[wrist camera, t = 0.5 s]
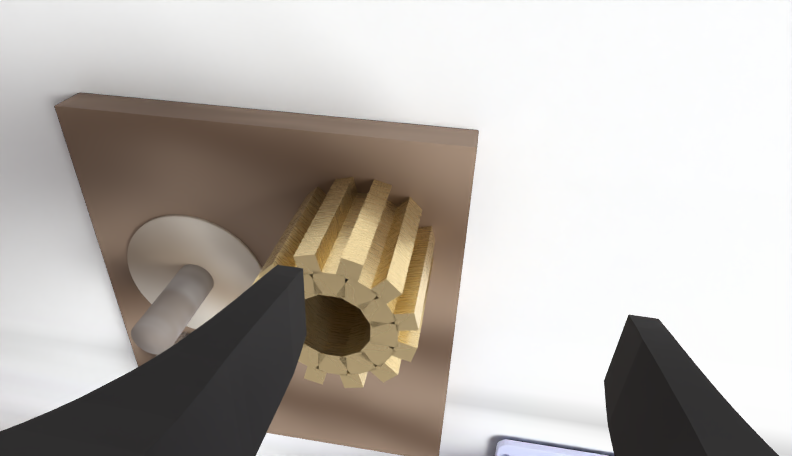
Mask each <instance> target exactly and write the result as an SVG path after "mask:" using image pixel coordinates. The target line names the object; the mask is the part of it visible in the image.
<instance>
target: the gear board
mask: <svg viewBox="0 0 792 456" xmlns="http://www.w3.org/2000/svg"><path fill="white" fill-rule="evenodd" d="M54 107H55V110H56V113H57V116H58V119H59V122H60V125H61V128H62V131H63V134H64V138H65V141H66V144H67V147H68V150H69V153H70V156H71V159H72V162H73V165H74V169H75V172H76V175H77V178H78V181H79V184H80V187H81V190H82V193H83V196H84V200H85V203H86V206H87V209H88V212H89V215H90V218H91V221H92V224H93V227H94V231H95V234H96V237H97V240H98V243H99V246H100V249H101V252H102V255H103V258H104V262H105V265H106V268H107V271H108V274H109V277H110V280H111V283H112V286H113V289H114V293H115V296H116V299H117V302H118V305H119V308H120V311H121V314H122V317H123V320H124V324H125V327H126V330H127V333H128V336H129V339H130V342H131V345H132V348H133V351H134V355H135V358H136V361H137V364H138V367H139V366H141V365H142V364H144V363H146V362H148V361H149V360H151V359H153V358H154V357H156V355H159V354H161V353H162V352H164V351H165V350H167V349H168V348H170V347H172V346H173V344H174V343H175V341H176V340H177V338H178V337H179V336H180V334H181V333H183V332H187V333H188V334H190V333H191V332H193V331H194V330H196V329H197V328H198V327H200V326H201V325H203V324H204V323H205V322H207V321H208V320H209V319H211V318H212V317H213V316H215V315H216V314H217V313H218V312H220V311H221V310H222V309H223V308H225V307H226V306H227V305H229V304H230V303H231V302H232V301H234V300H235V299H236V298H237V297H239V296H240V295H241V294H242V293H243V292H245V291H246V290H247V289H248V288H249V287H251V286H252V284H253V283H254V281H255V279H256V278H257V276H258V274H259V273H260V271H261V269H262V268H263V266H264V265H265V263H266V261H267V260H268V258H269V256H270V255H271V253H272V251H273V250H274V248H275V246H276V245H277V243H278V242H279V240H280V238H281V237H282V235H283V233H284V232H285V230H286V228H287V227H288V225H289V223H290V222H291V220H292V218H293V217H294V215H295V214H296V212H297V210H298V209H299V207H300V206H301V204H302V202H303V201H304V199H305V197H306V196H307V195H308V194H310V193H311V192H312V191H313V190H314V189H316V188H317V187H319V188H320V189H321V190H322V191H323V192H324V193H325V194H326V195H327V194H328V192H329V190H330V188H331V186H332V185H333V183H334V181H335V179H339V178H347V177H353V178H354V181H355V185H356V188H357V191H358V192H360V193H368V192H369V190H370V188H371V185H372V183H373V181H374V179H376V180H379V181H382V182H384V183H387V184H390V185H392V187H391V190H390V193H389V196H388V199H387V200H388V201H390V202H392V203H393V204H395V205H396V206H398V205H399V204H401V203H402V202H403V201H405V200H406V199H407V198H409V197H411V198H412V199H413V200H414V201H415V202H416V203H417V204H418V205H419V206H420V207H421V208H422V214H421V218H420V222H419V226H418V227H427V226H432V229H433V234H434V238H435V245H434V250H433V256H432V257H433V258H434V259H433V265H432V270H431V276H430V281H429V287H428V292H427V298H426V303H425V309H424V314H423V320H422V325H421V331H420V336H419V342H418V348H417V350H416V352H415V354H414V356H413V359H412V361H411V362H409V361H406V360H403V359H401V363H400V368H399V373H398V375H397V376H395V377H393V378H391V379H389V380H387V381H386V382H384V383H383V382H382V381H381V380H380V379H378V378H377V377H376V376H375V375H374V374H373V373H372V372H370V371H368V373H367V376H366V380H365V384H364V388H344V385H343V383H342V380H341V377H340V375H338V374H331V373H327V374H326V376H325V379H324V382H323V385H322V384H319V383H316V382H313V381H310V380H307V379H304V376H305V373H306V369H307V366H306V365H304V364H302V363H301V362H299V361H298V363H297V366H296V369H295V372H294V375H293V377H292V379H291V381H290V383H289V386H288V388H287V390H286V392H285V394H284V396H283V398H282V401H281V403H280V405H279V407H278V409H277V411H276V413H275V415H274V418H273V420H272V422H271V424H270V426H269V428H268V430H267V432H266V433H272V434H278V435H284V436H290V437H296V438H302V439H308V440H314V441H320V442H326V443H332V444H338V445H344V446H350V447H356V448H362V449H368V450H374V451H380V452H386V453H392V454H398V455H404V456H439V450H440V442H441V434H442V426H443V418H444V410H445V402H446V394H447V385H448V377H449V369H450V361H451V353H452V345H453V337H454V329H455V321H456V313H457V305H458V297H459V289H460V281H461V273H462V265H463V257H464V249H465V241H466V232H467V224H468V216H469V208H470V200H471V192H472V184H473V176H474V168H475V160H476V152H477V143H478V133H479V131H478V130H468V129H457V128H447V127H436V126H425V125H415V124H404V123H394V122H383V121H373V120H362V119H352V118H341V117H331V116H320V115H310V114H299V113H288V112H278V111H267V110H257V109H246V108H236V107H225V106H215V105H204V104H194V103H183V102H172V101H162V100H151V99H141V98H130V97H120V96H109V95H99V94H88V93H78V94H76V95H74V96H72V97H70V98H68V99H66V100H65V101H63V102H61V103H59V104H57V105H55V106H54Z"/></svg>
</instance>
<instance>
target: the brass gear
mask: <svg viewBox="0 0 792 456" xmlns="http://www.w3.org/2000/svg"><path fill="white" fill-rule="evenodd" d="M391 187H392V185H390V184H387V183H384V182H382V181H379V180H376V179H374V181H373V183H372V185H371V188H370V190H369V192H368V193H360V192H358V191H357V188H356V185H355V181H354V178H353V177H347V178H339V179H335V181H334V183H333V185H332V186H331V188H330V190H329V192H328V194H327V195H326V194H325V193H324V192H323V191H322V190H321V189H320V188H319V187H317V188H316V189H314V190H313V191H312V192H311V193H310V194H308V195H307V196H306V197H305V199H304V201H303V202H302V204H301V206H300V207H299V209H298V210H297V212H296V214H295V215H294V217H293V218H292V220H291V222H290V223H289V225H288V227H287V228H286V230H285V232H284V233H283V235H282V237H281V238H280V240H279V242H278V243H277V245H276V246H275V248H274V250H273V251H272V253H271V255H270V256H269V258H268V260H267V261H266V263H265V265H264V266H263V268H262V269H261V271H260V273H259V274H258V276H257V278H256V279H255V281H254V283H255V282H257V281H258V280H259V279H260V278H261V277H263V276H264V275H265V274H266V273H268V272H269V271H270V270H271V269H273V268H274V267H275V266H277V265H283V266H290V267H297V268H303V276H304V294H305V312H306V330H307V335H306V338H305V341H304V344H303V348H302V351H301V354H300V357H299V360H298V361H299V362H301V363H302V364H304V365H306V366H307V369H306V373H305V376H304V379H307V380H310V381H313V382H316V383H319V384H322V385H323V382H324V379H325V376H326V374H327V373H331V374H338V375H340V377H341V380H342V383H343V385H344V388H364V384H365V380H366V376H367V373H368V371H370V372H372V373H373V374H374V375H375V376H376V377H377V378H378V379H380V380H381V381H382V382H383V383H384V382H386V381H387V380H389V379H391V378H393V377H395V376H397V375H398V373H399V368H400V363H401V359H403V360H406V361H409V362H411V361H412V359H413V356H414V354H415V352H416V350H417V348H418V342H419V336H420V331H421V325H422V320H423V314H424V309H425V303H426V298H427V292H428V287H429V281H430V276H431V270H432V265H433V259H434V258H433V257H432V256H433V250H434V245H435V238H434V234H433V229H432V226H427V227H418V226H419V222H420V218H421V214H422V208H421V207H420V206H419V205H418V204H417V203H416V202H415V201H414V200H413V199H412V198H411V197H409V198H407V199H406V200H405V201H403V202H402V203H401V204H399V205H398V206H396V205H395V204H393V203H392V202H390V201H388V200H387V199H388V196H389V193H390V190H391ZM254 283H253V284H254ZM253 284H252V285H253Z"/></svg>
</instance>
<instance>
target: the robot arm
mask: <svg viewBox="0 0 792 456" xmlns="http://www.w3.org/2000/svg"><path fill="white" fill-rule="evenodd" d="M306 335H307V330H306V312H305V294H304V276H303V268H297V267H290V266H283V265H277V266H275V267H274V268H273V269H271V270H270V271H269V272H268V273H266V274H265V275H264V276H263V277H261V278H260V279H259V280H258V281H257V282H255V283H254V284H253V285H252V286H251V287H249V288H248V289H247V290H246V291H245V292H243V293H242V294H241V295H240V296H239V297H237V298H236V299H235V300H234V301H232V302H231V303H230V304H229V305H227V306H226V307H225V308H223V309H222V310H221V311H220V312H218V313H217V314H216V315H215V316H213V317H212V318H211V319H209V320H208V321H207V322H205V323H204V324H203V325H201V326H200V327H198V328H197V329H196V330H194V331H193V332H191V333H190V334H189V335H187V336H186V337H184V338H183V339H182V340H180V341H179V342H177V343H176V344H175V345H173V346H172V347H170V348H168V349H167V350H165V351H164V352H162V353H161V354H159V355H158V356H156V357H154V358H153V359H151V360H149V361H148V362H146V363H144V364H142V365H141V366H139V367H137V368H136V369H134V370H132V371H131V372H129V373H127V374H125V375H123V376H121V377H119V378H117V379H115V380H114V381H112V382H110V383H108V384H106V385H104V386H102V387H100V388H98V389H96V390H94V391H92V392H90V393H88V394H86V395H84V396H83V397H80V398H78V399H76V400H74V401H72V402H70V403H67V404H65V405H63V406H61V407H59V408H57V409H54V410H52V411H50V412H47V413H45V414H43V415H40V416H38V417H36V418H33V419H31V420H29V421H26V422H24V423H21V424H19V425H16V426H14V427H11V428H9V429H6V430H3V431H0V456H256V454H257V451H258V449H259V447H260V445H261V443H262V441H263V439H264V437H265V435H266V432H267V430H268V428H269V426H270V424H271V422H272V420H273V418H274V415H275V413H276V411H277V409H278V407H279V405H280V403H281V401H282V398H283V396H284V394H285V392H286V390H287V388H288V386H289V383H290V381H291V379H292V377H293V375H294V372H295V369H296V366H297V363H298V360H299V357H300V354H301V351H302V348H303V344H304V341H305V338H306ZM604 386H605V399H606V411H607V421H608V428H609V432H610V437H611V442H612V446H613V451H614V456H779V455H778V454H777V453H776V452H775V451H774V450H773V449H772V448H771V447H770V446H769V445H768V444H767V443H766V442H765V441H764V440H763V439H762V438H761V437H760V436H759V435H758V434H757V433H756V432H755V431H754V430H753V429H752V428H751V427H750V426H749V425H748V424H747V423H746V421H745V420H744V419H743V418H742V417H741V416H740V415H739V414H738V413H737V412H736V411H735V410H734V408H733V407H732V406H731V405H730V404H729V403H728V402H727V401H726V399H725V398H724V397H723V396H722V395H721V394H720V393H719V392H718V390H717V389H716V388H715V387H714V386H713V385H712V383H711V382H710V381H709V380H708V379H707V377H706V376H705V375H704V374H703V373H702V371H701V370H700V369H699V368H698V367H697V365H696V364H695V363H694V362H693V361H692V359H691V358H690V357H689V356H688V354H687V353H686V352H685V351H684V350H683V348H682V347H681V346H680V345H679V343H678V342H677V341H676V340H675V338H674V337H673V336H672V335H671V333H670V332H669V331H668V330H667V329H666V327H665V326H664V325H663V324H662V323H661V321H660V320H659V319H655V318H648V317H641V316H634V315H628V318H627V321H626V323H625V326H624V329H623V331H622V334H621V337H620V339H619V342H618V345H617V347H616V350H615V353H614V355H613V358H612V361H611V363H610V366H609V369H608V371H607V374H606V377H605V380H604ZM495 456H607V455H601V454H595V453H589V452H582V451H576V450H570V449H564V448H557V447H551V446H545V445H539V444H532V443H526V442H520V441H514V440H506V439H504V440H501V441H499V442H498V444H497V447H496V452H495Z"/></svg>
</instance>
